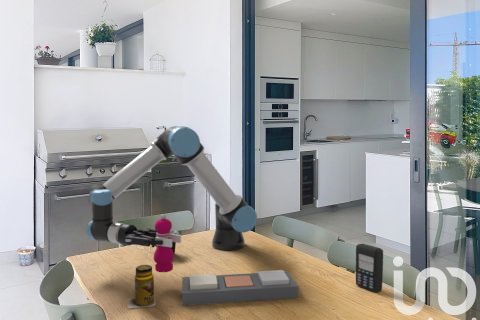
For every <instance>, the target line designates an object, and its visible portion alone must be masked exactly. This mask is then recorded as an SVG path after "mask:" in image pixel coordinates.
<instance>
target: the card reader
mask: <svg viewBox="0 0 480 320" xmlns="http://www.w3.org/2000/svg"><path fill="white" fill-rule="evenodd" d="M355 247H356V248H355V284H356V285H357V287H360V288H362V289H365V290H368V291H369V292H370V291H371V292H373V293H380V292H382V290H383V277H384V273H383V271H384V250H383V249H382V248H380V247H377V246H373V245H370V244H365V243H358V244H357V245H356V246H355Z"/></svg>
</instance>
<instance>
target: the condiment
mask: <svg viewBox="0 0 480 320" xmlns="http://www.w3.org/2000/svg"><path fill="white" fill-rule="evenodd" d="M154 278H155V277H154V274H153V266H152V265H149V264H141V265H137V266H136V267H135V275H134V297H133V298H128V309H139V308H148V307H156V305H157V303H156V296H155V280H154Z"/></svg>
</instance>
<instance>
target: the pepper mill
mask: <svg viewBox="0 0 480 320" xmlns="http://www.w3.org/2000/svg"><path fill="white" fill-rule="evenodd" d="M166 217H167V216H166V214H163V213H162V214H161V215H160V218H159V219H157V220H156V221H155V223H154V230H156V231H157V233H156V234H157V235H156V237H160V238H168V239H169V237H170V236H171V235H170V233H171V232H170V230H172V229H173V228H172V227H173V225H172V222H171V220H170V219H168V218H166ZM174 260H175V255H174V253H173V251H172V249H171V247H165V246H158V245H157V247H156V249H155V251H154V253H153V261H154V262H155V265H154V268H155V271H156V272H158V273H168V272H171V271H172V270H173V269H174V264H173V262H174Z"/></svg>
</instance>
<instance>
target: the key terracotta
mask: <svg viewBox="0 0 480 320" xmlns="http://www.w3.org/2000/svg"><path fill="white" fill-rule="evenodd" d="M224 282H225V287H226V288H233V287H249V286H254V285H253V282H252V280H251V277H250V275H247V276H229V277H224Z"/></svg>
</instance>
